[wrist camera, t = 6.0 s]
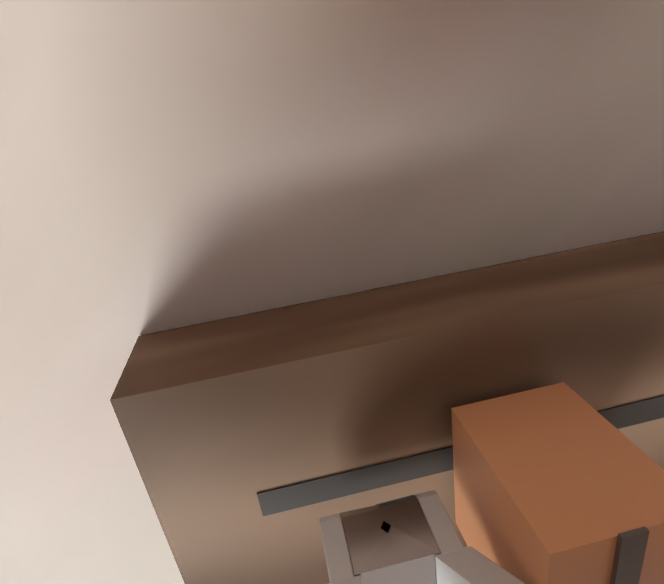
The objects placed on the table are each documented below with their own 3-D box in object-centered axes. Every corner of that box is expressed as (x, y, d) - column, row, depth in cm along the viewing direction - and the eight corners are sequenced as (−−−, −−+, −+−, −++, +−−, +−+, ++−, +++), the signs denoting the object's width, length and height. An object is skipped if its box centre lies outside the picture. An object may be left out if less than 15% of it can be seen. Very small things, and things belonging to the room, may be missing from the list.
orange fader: (451, 406, 11) (552, 557, 8) (563, 380, 12) (714, 512, 8) (455, 523, 13) (541, 694, 9) (554, 498, 13) (675, 654, 10)
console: (138, 335, 13) (108, 403, 10) (821, 200, 15) (953, 223, 12) (250, 653, 19) (251, 750, 16) (725, 521, 21) (799, 586, 18)
